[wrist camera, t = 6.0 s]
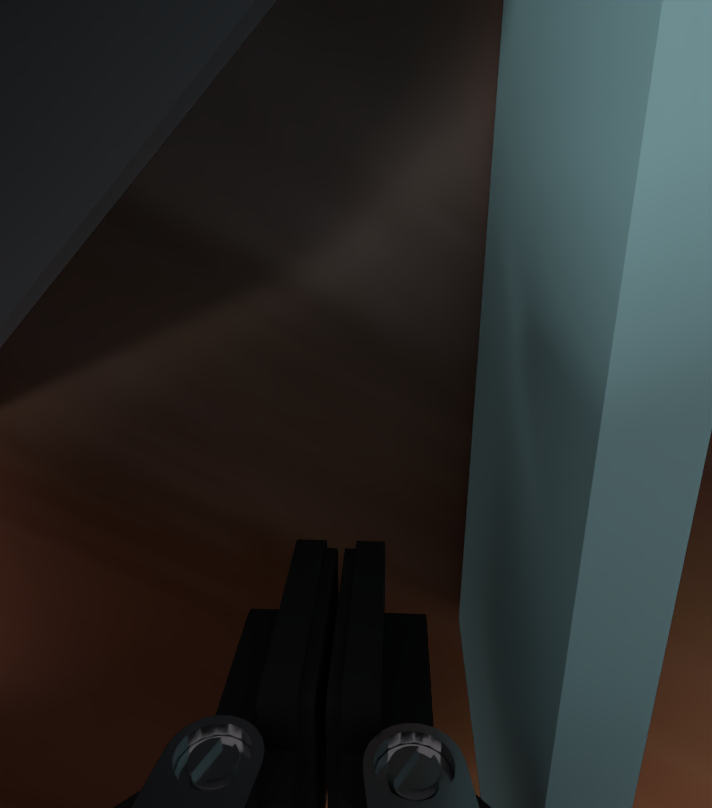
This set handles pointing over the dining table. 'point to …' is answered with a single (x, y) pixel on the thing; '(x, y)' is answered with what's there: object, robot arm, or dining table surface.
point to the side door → (587, 391)
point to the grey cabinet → (92, 116)
